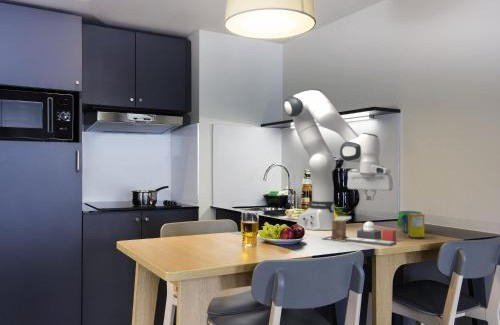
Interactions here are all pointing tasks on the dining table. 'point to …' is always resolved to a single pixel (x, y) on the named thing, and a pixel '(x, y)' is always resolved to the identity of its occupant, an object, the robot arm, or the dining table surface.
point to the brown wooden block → (338, 230)
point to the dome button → (369, 227)
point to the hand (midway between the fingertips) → (369, 200)
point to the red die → (389, 235)
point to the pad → (333, 240)
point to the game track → (370, 241)
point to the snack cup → (404, 220)
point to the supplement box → (416, 225)
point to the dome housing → (369, 234)
